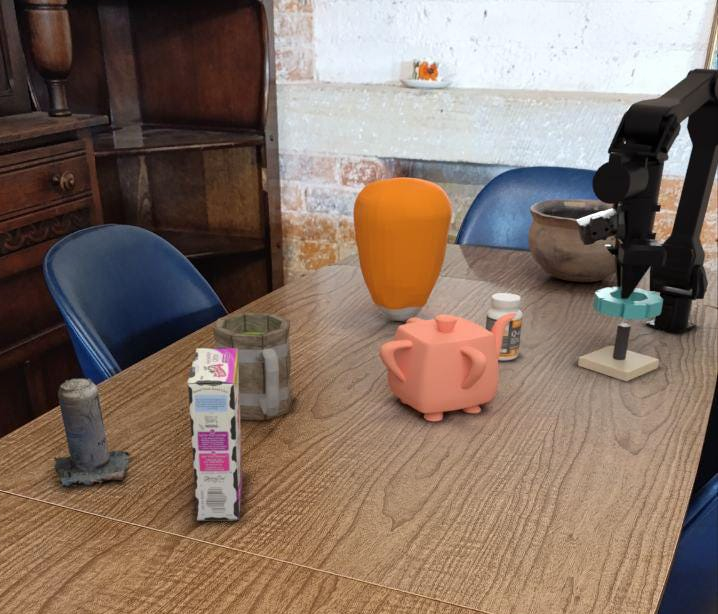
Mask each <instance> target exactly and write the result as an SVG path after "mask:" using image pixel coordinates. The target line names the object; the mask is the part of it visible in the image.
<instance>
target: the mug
mask: <svg viewBox="0 0 718 614" xmlns="http://www.w3.org/2000/svg"><path fill="white" fill-rule="evenodd" d="M290 328H291V320H290V319H287V318H285V317H283V316H281V315H277V314H275V313H269V312H239V313H235V314H232V315H226V316H223V317H219V318H217V320H216V322H215V324H214V325H213V327H212V329H213V336H214V341H215V348H237V349H238V372H239V397H240V420H245V421H246V420H248V421H267V420H270V419H273V418H276V417H279V416H281V415H285V414H289V413H290V410H291V407H292V402H293V399H292V391H291V367H292V359H291V358H292V357H291V350H290V348H291V347H290Z"/></svg>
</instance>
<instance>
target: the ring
mask: <svg viewBox="0 0 718 614" xmlns="http://www.w3.org/2000/svg"><path fill="white" fill-rule="evenodd" d="M662 304H663V299H662V298H661V297H660V293H656V292H654V291H653V292H652V291H650V290H647V289H643V288H638V287H636V288H635V289H634V291H633V292H632V294H631V295H630V297H629V298H628V299H622V298H621V287H617V286H611V287H603V288H601V289H597V290H596V291H595V292H594V296H593V303H592V306H593V308H594V310H595V311H596V312H598V313H600V314H602V315H605V316H609V317H613V318H616V319H619V318H621V319H623V320H645V319H648V320H650V319H653V318H655V317H656V316H658V315H660V313H661V310H662Z"/></svg>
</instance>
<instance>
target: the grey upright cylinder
mask: <svg viewBox="0 0 718 614" xmlns="http://www.w3.org/2000/svg"><path fill="white" fill-rule="evenodd" d="M57 398H58V403H59V409H60V413H61V417H62V424H63V427H64V432H65V437H66V442H67V447H68V453H69V455H68V456H65V457H64V456H63V457H62V456H61V457H60V456H59V457H56V456H53V459H54V462H55V464H54V469H56V470H57V471H58V474H59V475H58V477H59V479H60V482H61V483H62V486H63V487H64V486H65V487H66V488H68V487H69V486H70V485H73V484H77V483H78V484H79V485H80V484H84V485H85V486H92V485H93V484H95V483H99V484H101V483H103V482H106V481H110V480H114V481H119V480H120V481H121V480H124V476H125V474H126V470H127V469H129V464H130V463H129V462H130V459H131V457H130V456H131V454H130V453H129V451H125V450H123V449H121V450H120V449H119V450H112V451H110V450H109V446H108V439H107V435H106V434H107V433H106V429H105V423H104V417H103V412H102V406H101V401H100V395H99V389H98V387H97V385H96V384H95V383H94V382H93V381H92V379H91V378H87V379H86V378H83V377H81V378H71V379H70V380H69V379H66V380H65V381H64V382H63V383H61V384H60V385H59V389H58V391H57Z"/></svg>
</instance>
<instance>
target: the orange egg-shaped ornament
mask: <svg viewBox="0 0 718 614" xmlns="http://www.w3.org/2000/svg"><path fill="white" fill-rule="evenodd" d="M352 214H353V215H352V216H353V226H354V236H355V243H356V248H357V253H358V261H359V267H360V271H361V275H362V278H363V280H364V284H365V286H366V287H367V290H368V292H369V294H370V297H371V300H372V302H373V303H374V305H375V306H376V307H377V308H378V309H379V310H380V311H381V312H382V314H383V315H384V316H385V317H386V319H389V320H391V321H394V322H405V321H406V322H407V320H408V319H409V318H414V317H415V318H417V316H418V315H419V314H420V312H421V310H422V309H423V308H424V306H425V305H426V304H427V303H428V300H429V298H430V296H431V294H432V292H433V290H434V287H436V286H435V285H436V283H437V281H438V279H439V277H440V273H441V271H442V268H443V264H444V261H445V257H446V251H447V245H448V240H449V239H448V238H449V234H450V233H449V232H450V228H451V223H452V217H453V207H452V203H451V200H450V198H449V196H448V194H447V192H445V190H444V189H443V188H442V186H440V185H438V184H436V183H435V182H432V181H430V180H425V179H421V178H415V177H393V178H392V177H391V178H387V179H380V180H376V181H372V182H369V183H368V184H367V185H365V186H364V187H363V188H362V189H361V190H360V192H359V193H358V194H357V196H356V198H355V201H354V205H353V213H352Z"/></svg>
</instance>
